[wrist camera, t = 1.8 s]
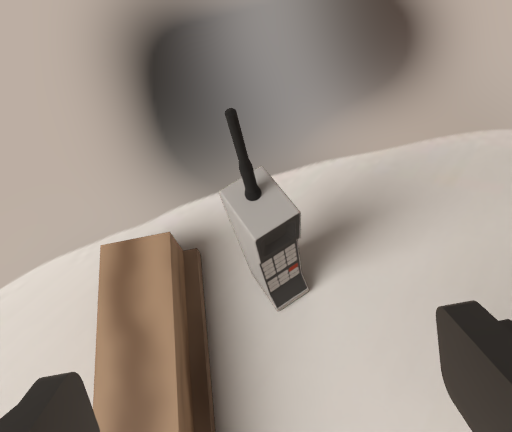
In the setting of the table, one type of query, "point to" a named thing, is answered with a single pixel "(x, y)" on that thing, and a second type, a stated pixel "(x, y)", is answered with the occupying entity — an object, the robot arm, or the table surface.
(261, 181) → the vintage mobile phone
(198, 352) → the walnut ridge
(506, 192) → the table surface
